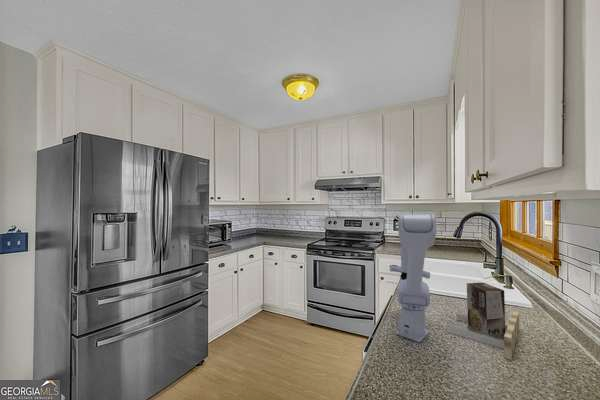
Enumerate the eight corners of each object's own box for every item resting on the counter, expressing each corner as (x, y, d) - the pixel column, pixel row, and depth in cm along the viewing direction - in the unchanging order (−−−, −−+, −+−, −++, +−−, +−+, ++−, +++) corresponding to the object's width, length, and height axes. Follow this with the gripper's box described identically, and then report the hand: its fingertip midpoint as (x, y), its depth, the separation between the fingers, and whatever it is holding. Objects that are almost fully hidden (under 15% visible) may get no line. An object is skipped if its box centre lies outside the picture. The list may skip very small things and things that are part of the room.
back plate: (511, 360, 71) (510, 338, 71) (504, 358, 72) (504, 336, 72) (519, 329, 88) (518, 312, 88) (513, 328, 89) (513, 311, 89)
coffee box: (507, 342, 80) (505, 290, 81) (487, 342, 80) (486, 291, 80) (484, 328, 89) (483, 281, 90) (466, 328, 89) (465, 282, 89)
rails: (506, 350, 76) (506, 341, 76) (446, 331, 87) (446, 324, 87) (512, 333, 85) (511, 326, 85) (457, 319, 96) (457, 312, 97)
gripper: (432, 258, 96) (433, 294, 96) (395, 253, 106) (395, 285, 106) (426, 262, 91) (426, 300, 91) (387, 256, 101) (388, 290, 101)
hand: (409, 292), depth 98 cm, fingers closed
